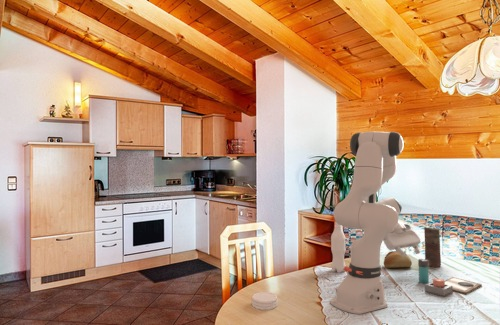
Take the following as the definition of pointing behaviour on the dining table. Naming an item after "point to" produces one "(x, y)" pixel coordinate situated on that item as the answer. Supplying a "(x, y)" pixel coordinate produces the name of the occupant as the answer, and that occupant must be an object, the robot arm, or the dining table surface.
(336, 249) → the water bottle
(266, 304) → the coaster
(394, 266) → the bread roll
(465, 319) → the dining table surface
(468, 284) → the clipboard
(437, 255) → the candle
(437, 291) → the button housing
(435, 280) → the button
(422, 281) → the teal spice jar
